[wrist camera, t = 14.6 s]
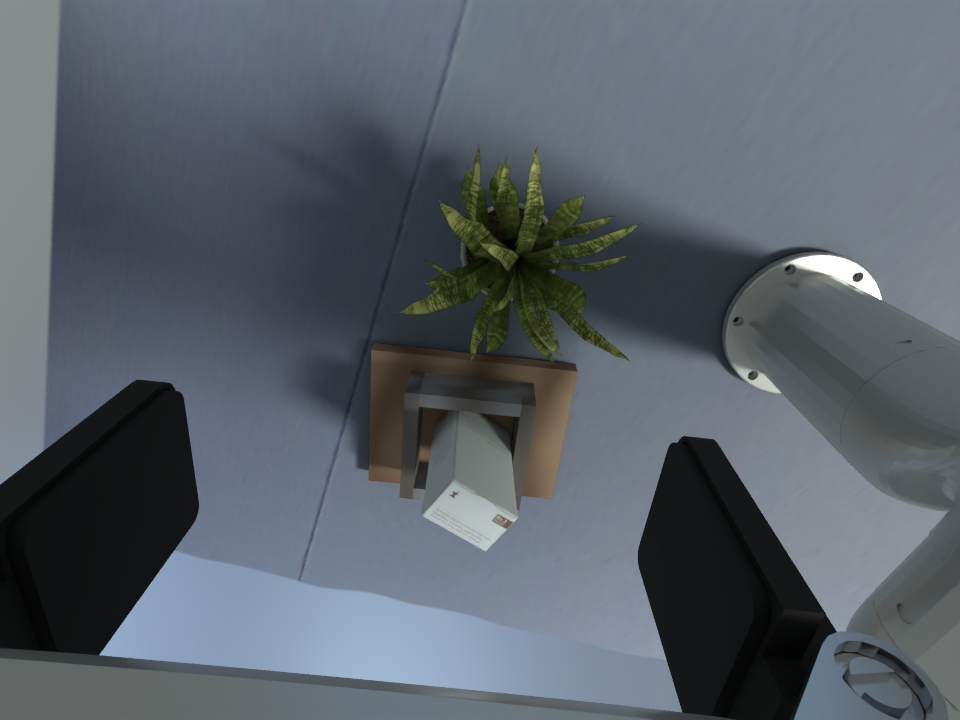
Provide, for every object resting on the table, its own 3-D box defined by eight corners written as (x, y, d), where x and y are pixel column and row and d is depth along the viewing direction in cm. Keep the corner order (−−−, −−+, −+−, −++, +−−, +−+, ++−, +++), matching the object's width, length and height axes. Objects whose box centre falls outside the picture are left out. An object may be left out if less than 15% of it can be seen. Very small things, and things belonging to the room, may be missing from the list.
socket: (575, 364, 50) (583, 393, 45) (550, 489, 56) (555, 527, 51) (374, 343, 49) (360, 370, 44) (371, 470, 55) (359, 507, 50)
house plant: (647, 194, 43) (725, 243, 29) (561, 340, 49) (589, 445, 34) (482, 108, 41) (473, 113, 26) (411, 272, 47) (371, 352, 32)
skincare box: (432, 428, 51) (414, 518, 40) (460, 394, 50) (449, 478, 39) (485, 461, 53) (482, 557, 42) (514, 429, 51) (519, 520, 40)
